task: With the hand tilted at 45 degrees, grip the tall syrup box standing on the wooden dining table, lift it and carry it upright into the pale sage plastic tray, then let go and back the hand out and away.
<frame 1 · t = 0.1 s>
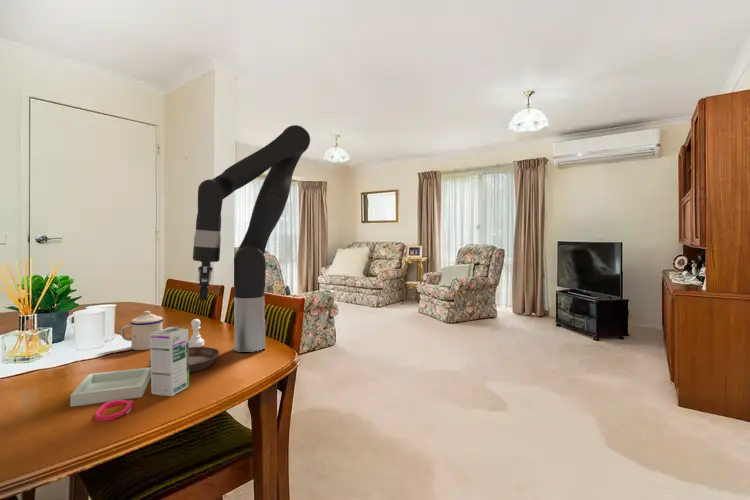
hand: (203, 298, 114), 17 cm above the table, tool pointing down, fingers open, 8 cm apart
syrup box: (170, 391, 87), on the table
chess pawn: (196, 346, 123), on the table
plant saucer: (185, 366, 105), on the table
teacup with lid: (142, 347, 121), on the table
fitness band: (114, 414, 77), on the table
tray: (114, 390, 87), on the table
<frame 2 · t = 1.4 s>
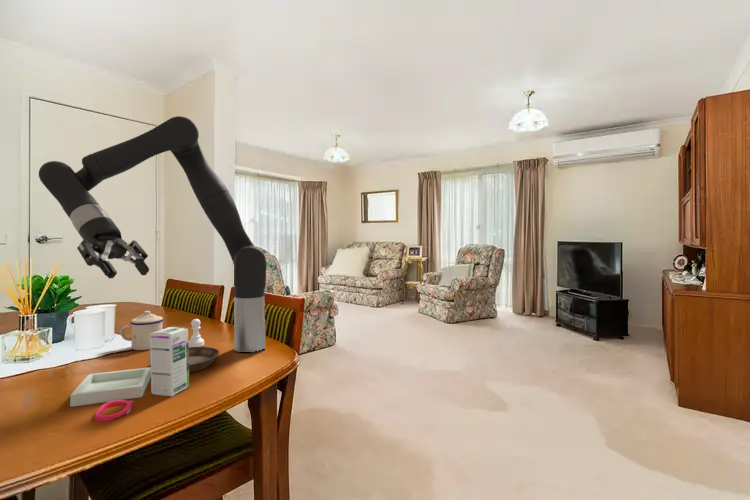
hand: (130, 274, 90), 27 cm above the table, tool tilted 45°, fingers open, 8 cm apart
nothing on the table moved.
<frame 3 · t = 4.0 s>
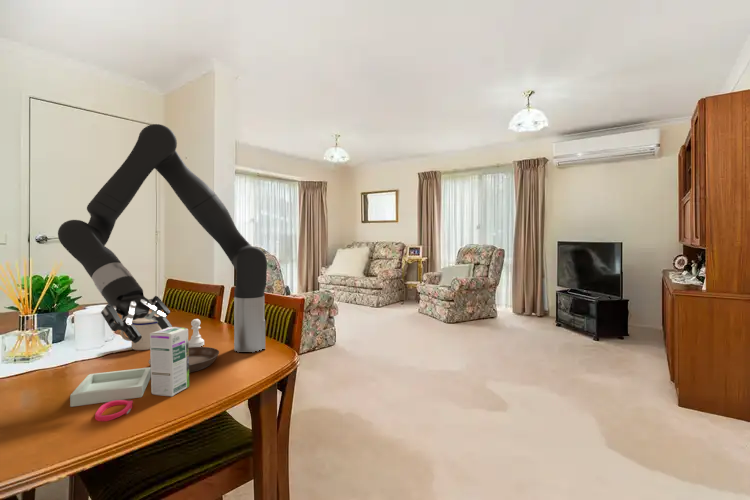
hand: (154, 335, 88), 13 cm above the table, tool tilted 45°, fingers open, 8 cm apart
nothing on the table moved.
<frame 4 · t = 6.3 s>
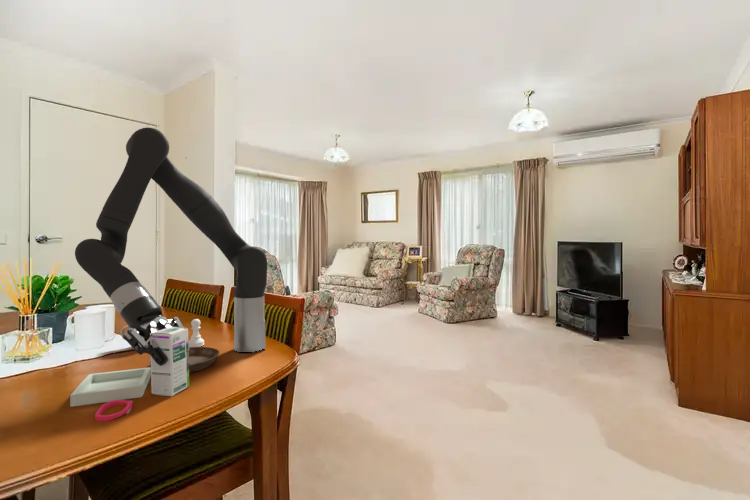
hand: (176, 358, 87), 8 cm above the table, tool tilted 45°, fingers closed on syrup box, 6 cm apart
syrup box: (170, 391, 87), on the table, touching gripper
everything else where it was.
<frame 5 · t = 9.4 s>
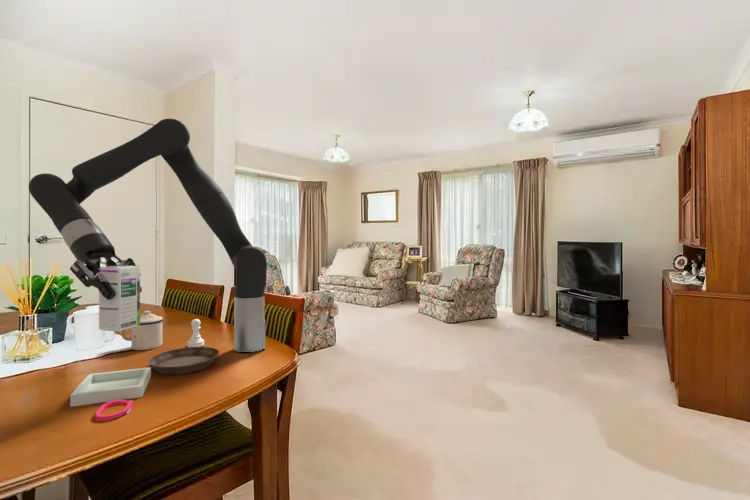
hand: (125, 295, 86), 23 cm above the table, tool tilted 45°, fingers closed on syrup box, 6 cm apart
syrup box: (119, 329, 86), point 15 cm above the table, touching gripper
everything else where it was.
when the fingers open (10 cm above the table, at t = 12.8 s): syrup box drops 1 cm, resting on tray.
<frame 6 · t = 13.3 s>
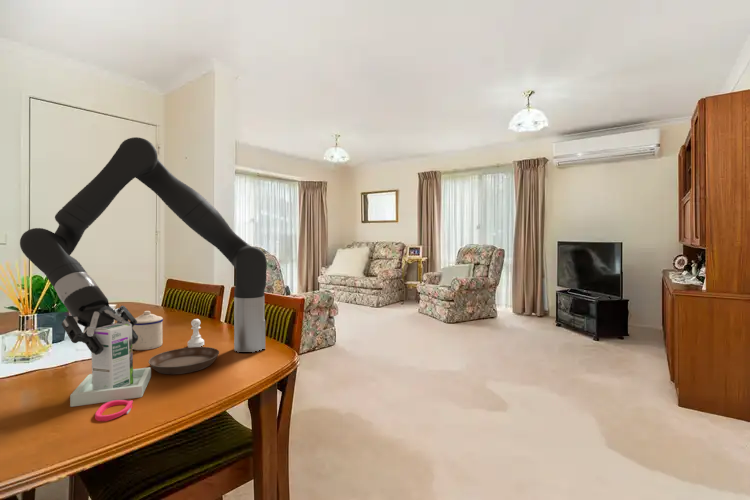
hand: (118, 346, 86), 10 cm above the table, tool tilted 45°, fingers open, 8 cm apart
syrup box: (113, 388, 87), point 1 cm above the table, touching tray
everything else where it was.
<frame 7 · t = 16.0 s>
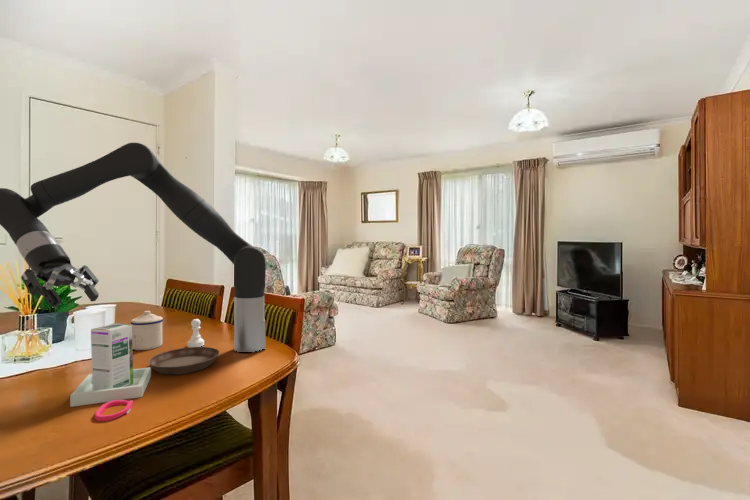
hand: (77, 301, 90), 20 cm above the table, tool tilted 45°, fingers open, 8 cm apart
nothing on the table moved.
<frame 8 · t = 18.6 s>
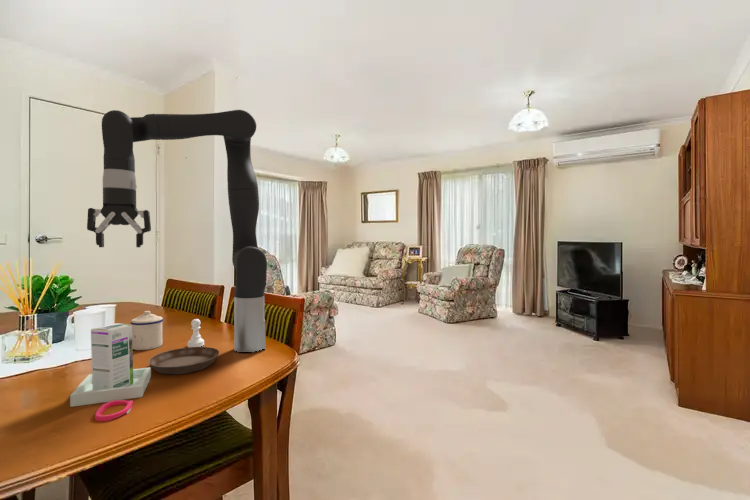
hand: (120, 247, 102), 33 cm above the table, tool pointing down, fingers open, 8 cm apart
nothing on the table moved.
at the end: syrup box inside the target area on the tray (0.3 cm from its centre), point 0.6 cm above the tray's base; syrup box tilted 0°; the gripper is holding nothing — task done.
